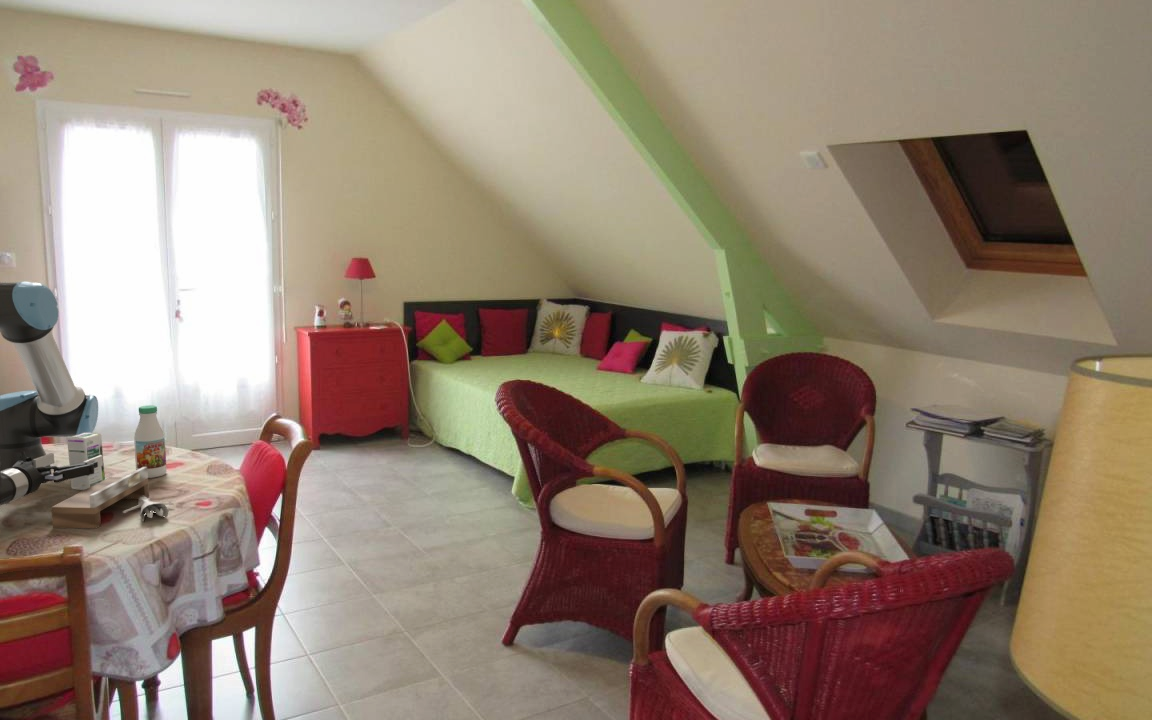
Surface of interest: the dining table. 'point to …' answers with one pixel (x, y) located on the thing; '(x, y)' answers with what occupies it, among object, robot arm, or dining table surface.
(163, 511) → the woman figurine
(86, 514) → the shelf
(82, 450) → the syrup box
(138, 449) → the milk bottle
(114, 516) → the dining table surface
